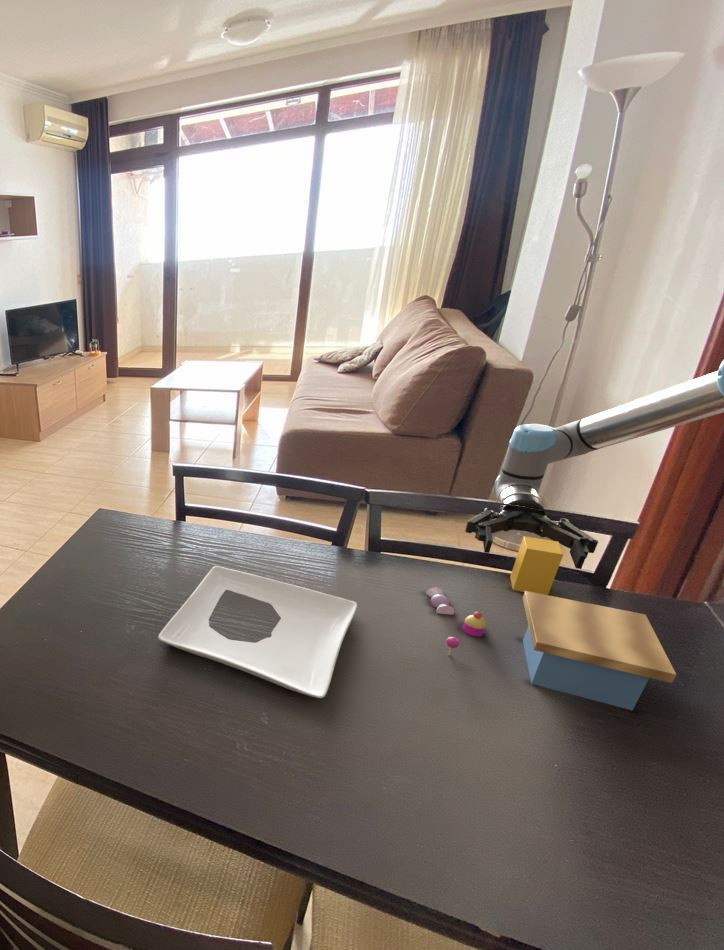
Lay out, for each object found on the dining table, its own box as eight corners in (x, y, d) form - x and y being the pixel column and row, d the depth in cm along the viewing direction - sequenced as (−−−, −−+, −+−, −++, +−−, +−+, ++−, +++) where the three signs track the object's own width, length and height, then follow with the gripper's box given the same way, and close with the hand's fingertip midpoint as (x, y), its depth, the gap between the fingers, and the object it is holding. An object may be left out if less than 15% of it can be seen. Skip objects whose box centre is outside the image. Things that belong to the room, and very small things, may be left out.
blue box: (611, 666, 84) (630, 625, 80) (630, 715, 76) (652, 672, 72) (521, 644, 89) (535, 605, 86) (529, 688, 81) (545, 647, 78)
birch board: (641, 622, 81) (645, 614, 80) (672, 683, 70) (676, 674, 70) (522, 598, 88) (525, 590, 87) (533, 650, 77) (536, 642, 77)
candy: (410, 597, 103) (417, 570, 100) (459, 601, 101) (467, 574, 98) (443, 662, 87) (452, 632, 85) (501, 669, 85) (512, 638, 82)
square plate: (355, 617, 99) (359, 599, 97) (321, 717, 79) (324, 697, 78) (213, 577, 114) (214, 561, 112) (155, 652, 95) (155, 635, 93)
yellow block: (542, 586, 103) (558, 541, 98) (545, 600, 99) (563, 554, 95) (508, 580, 105) (523, 536, 101) (511, 594, 101) (526, 548, 97)
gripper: (591, 535, 113) (615, 587, 98) (448, 513, 126) (449, 556, 110) (604, 503, 110) (631, 551, 94) (455, 484, 123) (457, 524, 107)
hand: (533, 554), depth 102 cm, fingers open, 13 cm apart
